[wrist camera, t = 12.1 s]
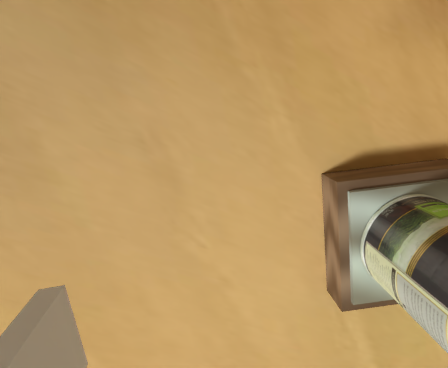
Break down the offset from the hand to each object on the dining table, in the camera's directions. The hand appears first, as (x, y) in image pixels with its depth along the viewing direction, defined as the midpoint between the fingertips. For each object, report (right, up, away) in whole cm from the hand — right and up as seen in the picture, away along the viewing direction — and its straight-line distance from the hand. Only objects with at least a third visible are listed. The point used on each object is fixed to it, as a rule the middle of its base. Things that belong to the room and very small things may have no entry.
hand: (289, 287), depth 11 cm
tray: (+16, -2, +29) cm, 34 cm away
